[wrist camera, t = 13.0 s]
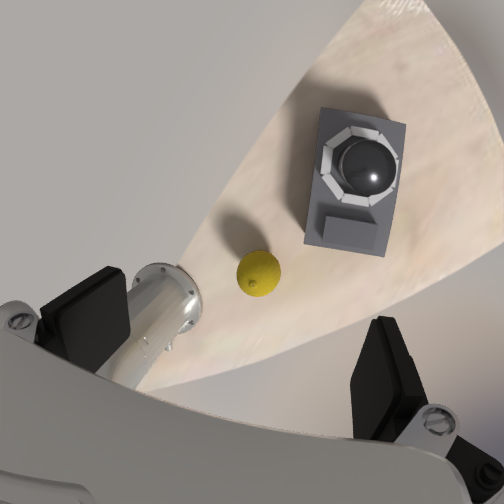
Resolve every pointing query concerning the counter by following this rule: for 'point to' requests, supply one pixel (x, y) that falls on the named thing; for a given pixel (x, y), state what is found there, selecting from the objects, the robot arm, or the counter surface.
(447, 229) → the counter surface
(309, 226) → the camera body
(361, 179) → the lens
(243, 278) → the lemon
